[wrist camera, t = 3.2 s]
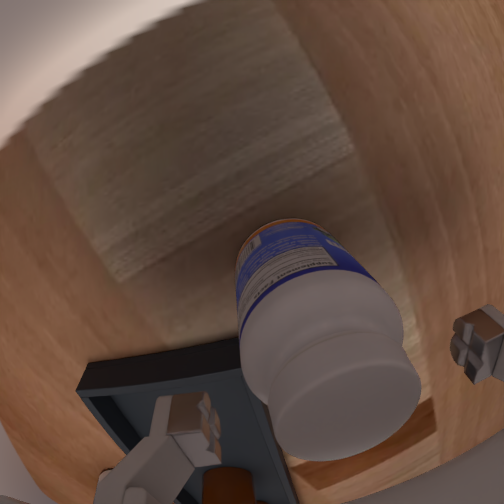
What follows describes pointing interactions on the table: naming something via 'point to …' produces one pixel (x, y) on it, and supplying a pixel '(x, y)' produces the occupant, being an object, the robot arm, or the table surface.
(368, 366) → the pill bottle
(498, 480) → the robot arm
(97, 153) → the table surface
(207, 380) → the tray
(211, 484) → the amber bottle
